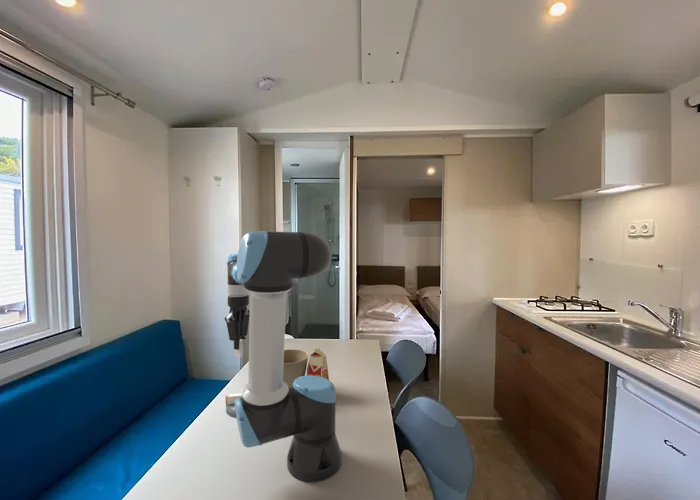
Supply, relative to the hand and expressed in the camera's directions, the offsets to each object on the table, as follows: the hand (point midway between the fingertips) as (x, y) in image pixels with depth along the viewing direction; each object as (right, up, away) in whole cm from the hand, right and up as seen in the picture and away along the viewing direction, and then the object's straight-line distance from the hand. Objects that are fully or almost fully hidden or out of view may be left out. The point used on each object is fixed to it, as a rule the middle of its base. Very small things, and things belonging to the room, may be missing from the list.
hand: (238, 356), depth 123 cm
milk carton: (+29, -18, +6) cm, 35 cm away
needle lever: (+1, -16, -3) cm, 16 cm away
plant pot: (+18, -18, +7) cm, 26 cm away
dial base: (+4, -18, -3) cm, 18 cm away
